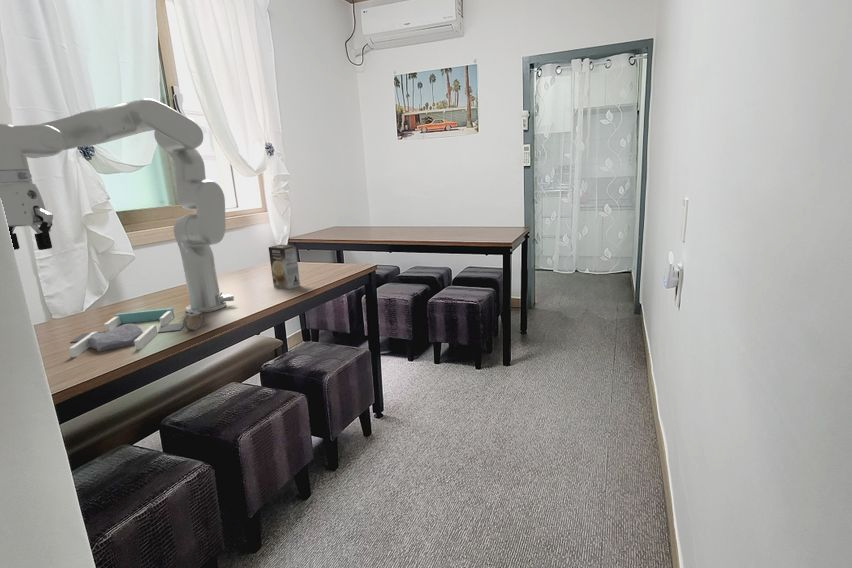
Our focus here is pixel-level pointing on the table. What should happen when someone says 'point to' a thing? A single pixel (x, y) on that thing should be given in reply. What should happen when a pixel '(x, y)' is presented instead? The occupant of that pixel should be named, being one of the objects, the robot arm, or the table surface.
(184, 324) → the wristwatch
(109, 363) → the table surface
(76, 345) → the trap channel
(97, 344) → the stone block
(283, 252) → the coffee box
